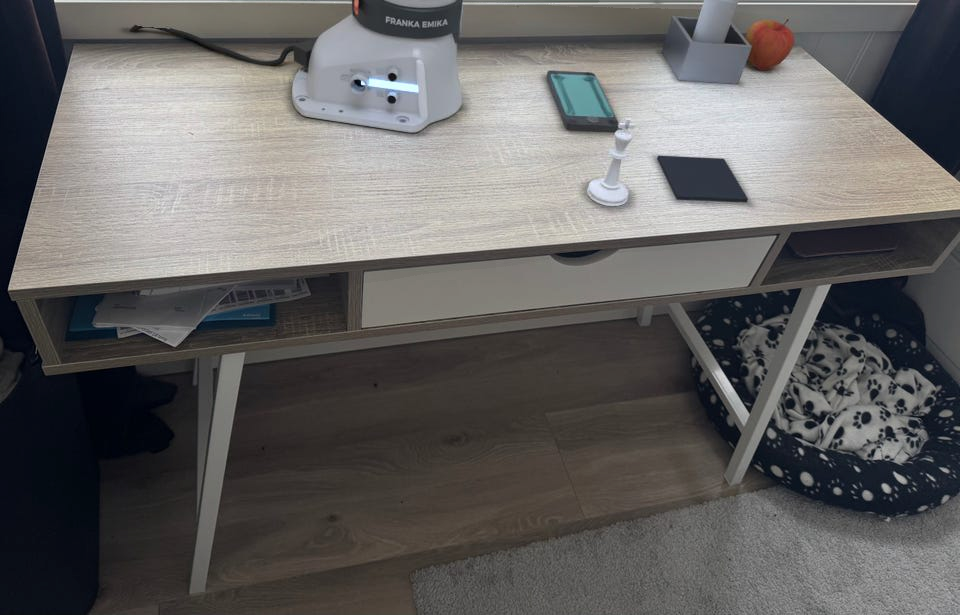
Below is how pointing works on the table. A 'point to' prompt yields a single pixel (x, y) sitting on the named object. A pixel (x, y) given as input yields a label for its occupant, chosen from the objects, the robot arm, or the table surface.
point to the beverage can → (714, 20)
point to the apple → (769, 43)
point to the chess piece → (613, 172)
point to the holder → (704, 53)
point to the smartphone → (581, 101)
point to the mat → (701, 179)
